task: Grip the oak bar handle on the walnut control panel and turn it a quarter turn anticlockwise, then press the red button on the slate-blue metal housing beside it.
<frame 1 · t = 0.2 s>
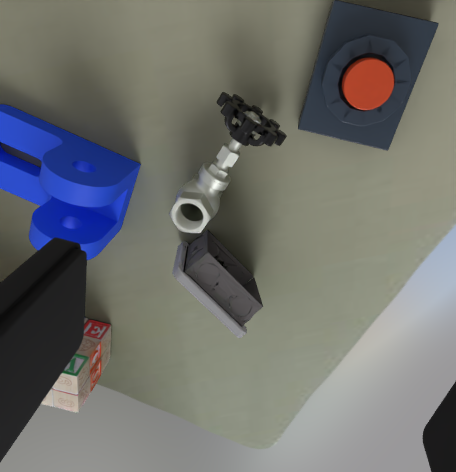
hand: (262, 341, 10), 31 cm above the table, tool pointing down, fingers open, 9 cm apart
button box: (359, 77, 35), on the table
valve: (224, 159, 40), on the table
bracket: (53, 163, 44), on the table
electrical switch: (223, 256, 46), on the table
stack of blocks: (36, 320, 55), on the table
red button: (367, 83, 31), point 5 cm above the table, slide at 0.2 cm
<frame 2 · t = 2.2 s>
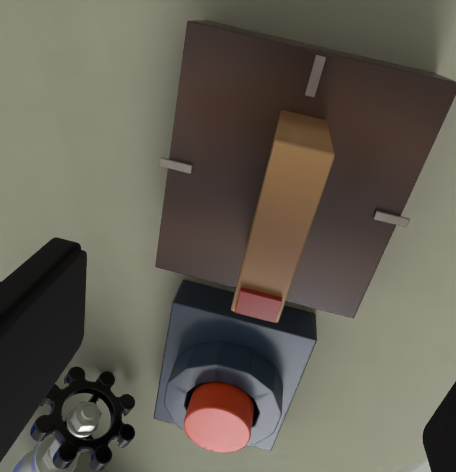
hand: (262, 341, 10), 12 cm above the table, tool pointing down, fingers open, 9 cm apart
button box: (231, 357, 26), on the table
valve: (82, 412, 32), on the table
oak handle: (279, 215, 15), point 5 cm above the table, hinge at 0.0°
handle panel: (284, 168, 20), on the table
red button: (219, 417, 22), point 5 cm above the table, slide at 0.2 cm
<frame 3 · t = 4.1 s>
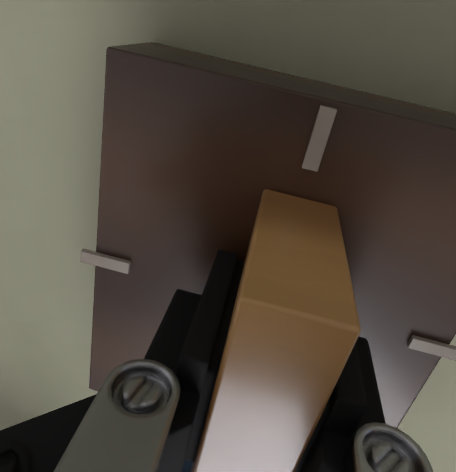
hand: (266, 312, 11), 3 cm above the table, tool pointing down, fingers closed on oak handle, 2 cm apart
oak handle: (259, 366, 9), point 5 cm above the table, hinge at 0.0°, touching gripper
handle panel: (273, 249, 14), on the table
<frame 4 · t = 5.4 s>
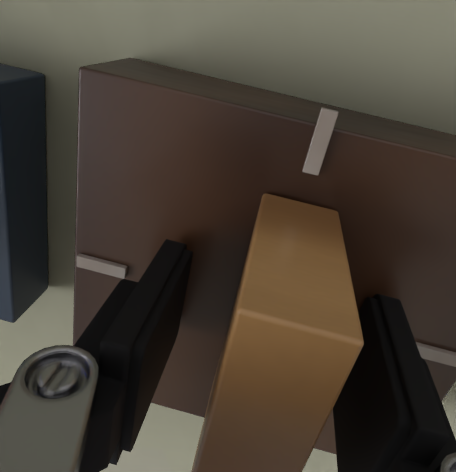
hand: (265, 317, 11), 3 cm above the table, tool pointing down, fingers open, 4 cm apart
oak handle: (259, 375, 9), point 5 cm above the table, hinge at 90.0°
handle panel: (273, 253, 14), on the table
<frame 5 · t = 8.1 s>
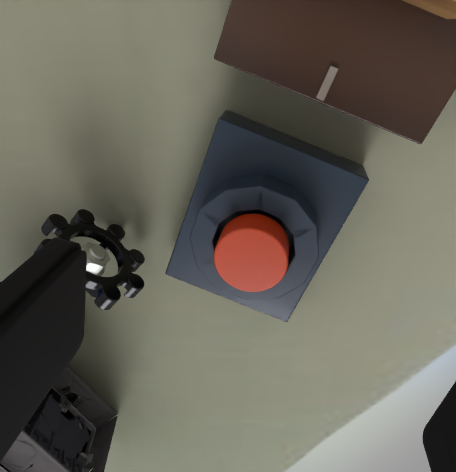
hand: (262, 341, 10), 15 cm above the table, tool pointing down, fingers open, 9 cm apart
button box: (260, 215, 24), on the table
valve: (77, 278, 29), on the table
electrical switch: (79, 385, 34), on the table
red button: (252, 252, 20), point 5 cm above the table, slide at 0.2 cm
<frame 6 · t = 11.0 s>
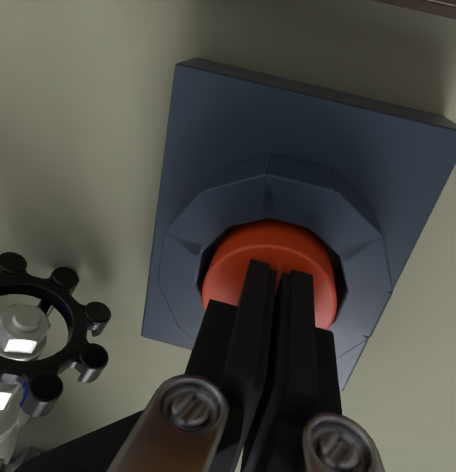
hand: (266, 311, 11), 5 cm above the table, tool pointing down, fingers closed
button box: (277, 225, 15), on the table
valve: (33, 347, 21), on the table
red button: (269, 286, 12), point 4 cm above the table, slide at -0.4 cm, touching gripper
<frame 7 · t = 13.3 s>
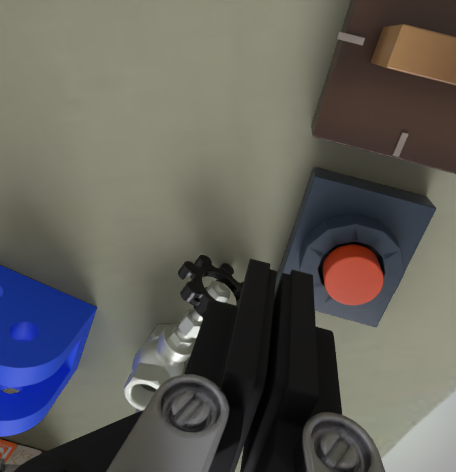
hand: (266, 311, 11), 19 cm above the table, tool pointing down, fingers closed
button box: (344, 243, 30), on the table
valve: (192, 310, 35), on the table
oak handle: (451, 62, 20), point 5 cm above the table, hinge at 90.0°
handle panel: (420, 57, 24), on the table
red button: (352, 274, 26), point 5 cm above the table, slide at 0.1 cm
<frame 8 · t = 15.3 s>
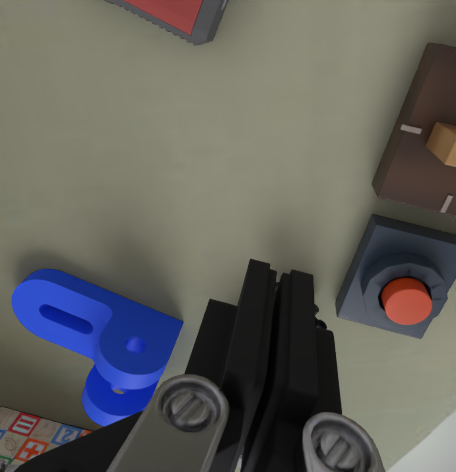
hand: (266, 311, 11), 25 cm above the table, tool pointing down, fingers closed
button box: (394, 272, 38), on the table
bracket: (99, 316, 46), on the table
stack of blocks: (74, 438, 57), on the table
red button: (406, 301, 34), point 5 cm above the table, slide at 0.1 cm
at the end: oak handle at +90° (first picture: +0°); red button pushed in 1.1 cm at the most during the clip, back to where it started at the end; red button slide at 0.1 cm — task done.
